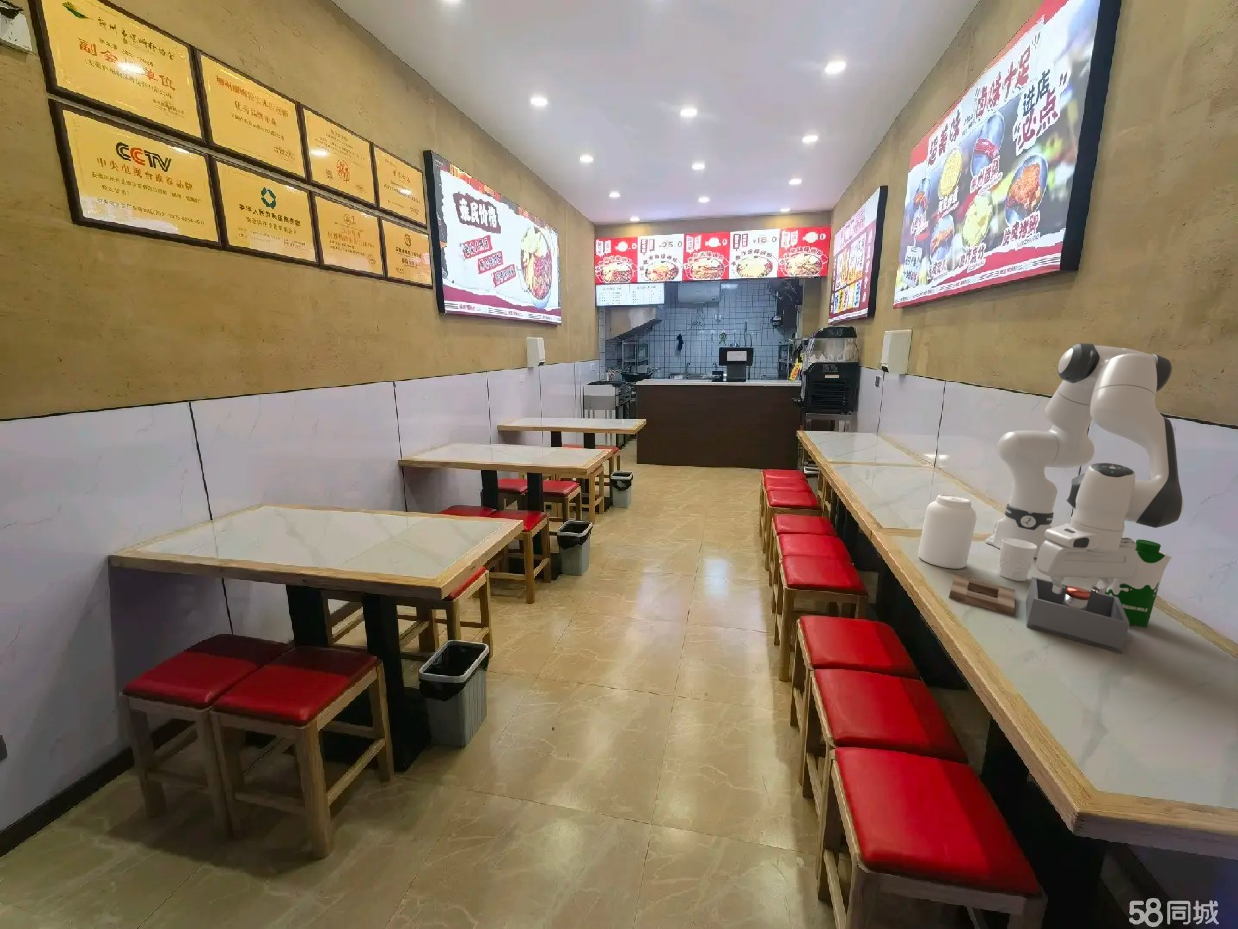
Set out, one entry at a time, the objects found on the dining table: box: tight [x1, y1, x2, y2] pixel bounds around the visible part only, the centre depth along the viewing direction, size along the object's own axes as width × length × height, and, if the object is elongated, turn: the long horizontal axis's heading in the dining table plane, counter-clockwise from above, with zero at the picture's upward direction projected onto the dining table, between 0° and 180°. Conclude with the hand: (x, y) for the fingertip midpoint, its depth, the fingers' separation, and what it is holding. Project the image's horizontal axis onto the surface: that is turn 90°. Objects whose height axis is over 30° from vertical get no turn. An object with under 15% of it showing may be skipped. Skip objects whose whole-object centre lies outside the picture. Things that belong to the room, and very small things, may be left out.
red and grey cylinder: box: [1063, 585, 1090, 611], centre depth 118 cm, size 4×4×8 cm
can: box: [917, 493, 977, 570], centre depth 152 cm, size 12×12×20 cm
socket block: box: [948, 573, 1016, 617], centre depth 131 cm, size 13×13×2 cm
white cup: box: [996, 538, 1037, 582], centre depth 144 cm, size 8×8×10 cm
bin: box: [1025, 576, 1131, 655], centre depth 118 cm, size 16×16×7 cm
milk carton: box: [1105, 539, 1172, 628], centre depth 122 cm, size 9×9×20 cm
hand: (1077, 593), depth 117 cm, fingers open, 8 cm apart
